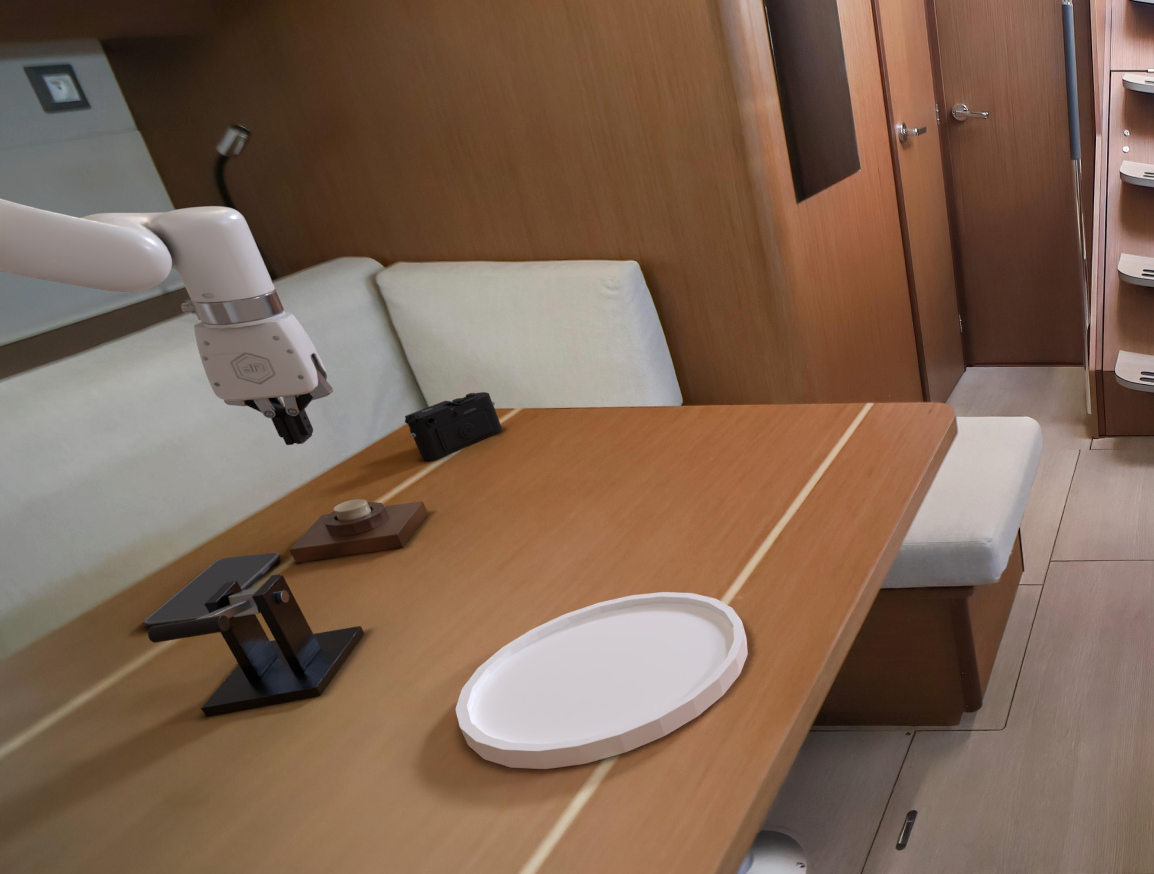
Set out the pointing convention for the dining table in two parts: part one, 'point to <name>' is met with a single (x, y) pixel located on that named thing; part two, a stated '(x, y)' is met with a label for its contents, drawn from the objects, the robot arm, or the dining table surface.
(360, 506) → the button
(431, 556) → the dining table surface
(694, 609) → the plate
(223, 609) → the lever
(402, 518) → the button box
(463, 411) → the camera
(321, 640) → the bracket
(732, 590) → the dining table surface
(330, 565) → the dining table surface
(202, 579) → the smartphone
